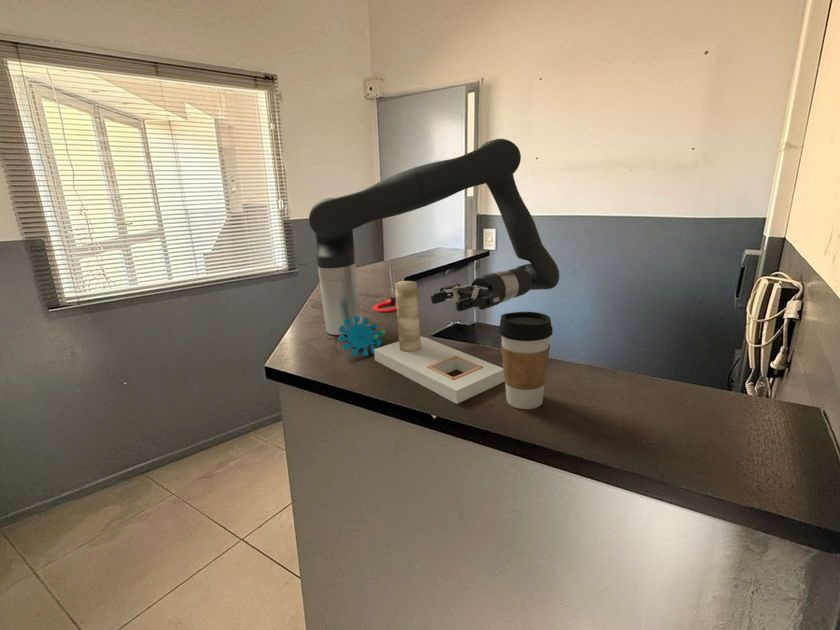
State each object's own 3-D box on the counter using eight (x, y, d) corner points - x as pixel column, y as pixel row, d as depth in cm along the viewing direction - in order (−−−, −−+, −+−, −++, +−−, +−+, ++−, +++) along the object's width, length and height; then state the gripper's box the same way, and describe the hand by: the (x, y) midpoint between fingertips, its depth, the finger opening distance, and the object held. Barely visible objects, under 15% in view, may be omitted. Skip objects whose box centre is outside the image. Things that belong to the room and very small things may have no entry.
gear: (344, 356, 92) (335, 315, 97) (338, 368, 97) (330, 328, 101) (392, 351, 97) (381, 313, 102) (384, 362, 102) (374, 325, 106)
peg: (395, 348, 93) (390, 284, 89) (412, 342, 95) (408, 279, 91) (408, 353, 89) (403, 287, 85) (425, 347, 92) (421, 283, 88)
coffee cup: (489, 396, 76) (488, 313, 71) (529, 384, 79) (531, 305, 74) (518, 418, 68) (519, 328, 64) (561, 405, 71) (565, 318, 67)
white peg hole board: (374, 360, 94) (373, 348, 93) (419, 345, 100) (418, 334, 100) (456, 404, 74) (456, 389, 73) (504, 381, 81) (504, 368, 80)
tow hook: (390, 315, 125) (408, 305, 132) (384, 272, 120) (403, 263, 128) (367, 312, 129) (386, 302, 136) (361, 270, 125) (381, 262, 132)
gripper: (474, 269, 109) (423, 281, 100) (518, 277, 99) (466, 291, 89) (474, 298, 112) (425, 312, 102) (518, 309, 101) (467, 326, 92)
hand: (444, 302), depth 96 cm, fingers open, 8 cm apart
